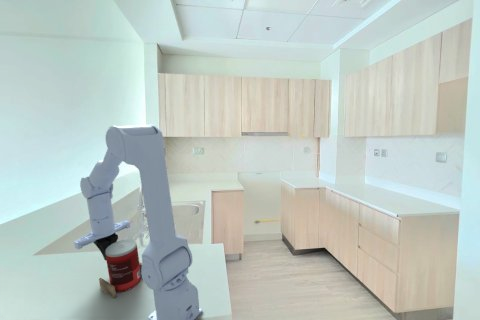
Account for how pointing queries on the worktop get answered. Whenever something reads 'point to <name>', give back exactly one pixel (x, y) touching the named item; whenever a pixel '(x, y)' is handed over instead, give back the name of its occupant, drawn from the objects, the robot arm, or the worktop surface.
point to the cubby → (110, 286)
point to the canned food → (123, 265)
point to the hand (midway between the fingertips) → (108, 259)
